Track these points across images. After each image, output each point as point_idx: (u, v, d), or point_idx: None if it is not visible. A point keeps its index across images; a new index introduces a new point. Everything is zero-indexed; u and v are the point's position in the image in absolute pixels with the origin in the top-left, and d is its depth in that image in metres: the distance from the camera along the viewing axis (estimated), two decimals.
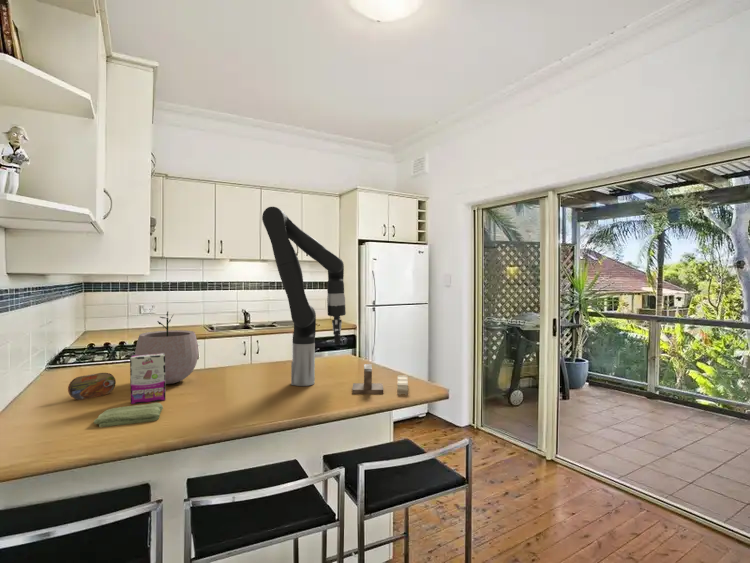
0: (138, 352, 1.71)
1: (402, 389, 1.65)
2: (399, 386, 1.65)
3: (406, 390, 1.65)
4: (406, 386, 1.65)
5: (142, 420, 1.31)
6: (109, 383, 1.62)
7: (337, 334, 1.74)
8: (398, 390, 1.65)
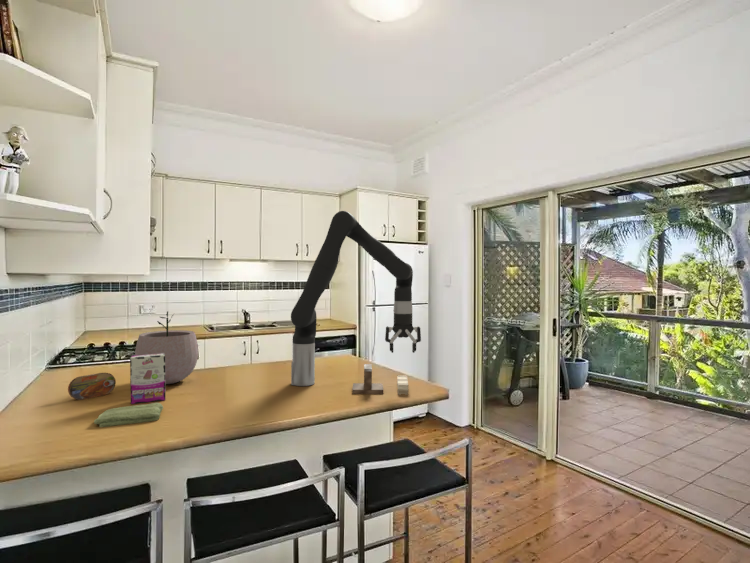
0: (138, 352, 1.71)
1: (402, 389, 1.65)
2: (399, 386, 1.65)
3: (406, 390, 1.65)
4: (406, 386, 1.65)
5: (142, 420, 1.31)
6: (109, 383, 1.62)
7: None
8: (398, 390, 1.65)
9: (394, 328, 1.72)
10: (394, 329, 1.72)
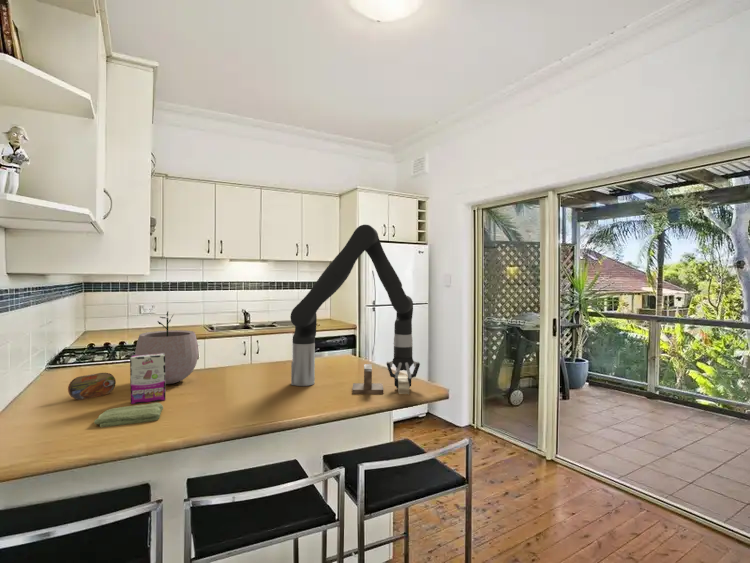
0: (138, 352, 1.71)
1: (403, 388, 1.65)
2: (400, 385, 1.65)
3: (407, 389, 1.65)
4: (407, 385, 1.65)
5: (143, 420, 1.31)
6: (109, 383, 1.62)
7: None
8: (399, 389, 1.65)
9: (394, 361, 1.72)
10: (394, 362, 1.72)
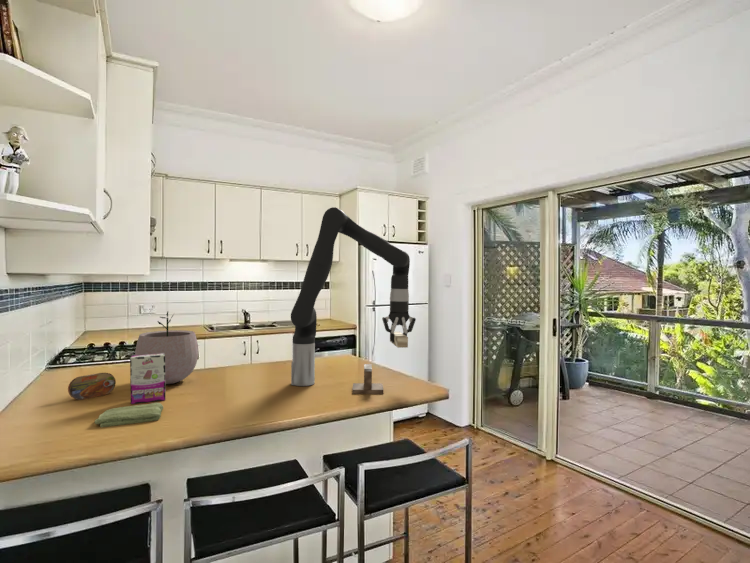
0: (138, 352, 1.71)
1: (402, 341, 1.65)
2: (399, 338, 1.65)
3: (406, 342, 1.65)
4: (406, 338, 1.65)
5: (143, 420, 1.32)
6: (109, 383, 1.62)
7: None
8: (398, 342, 1.65)
9: (390, 316, 1.71)
10: (391, 317, 1.71)
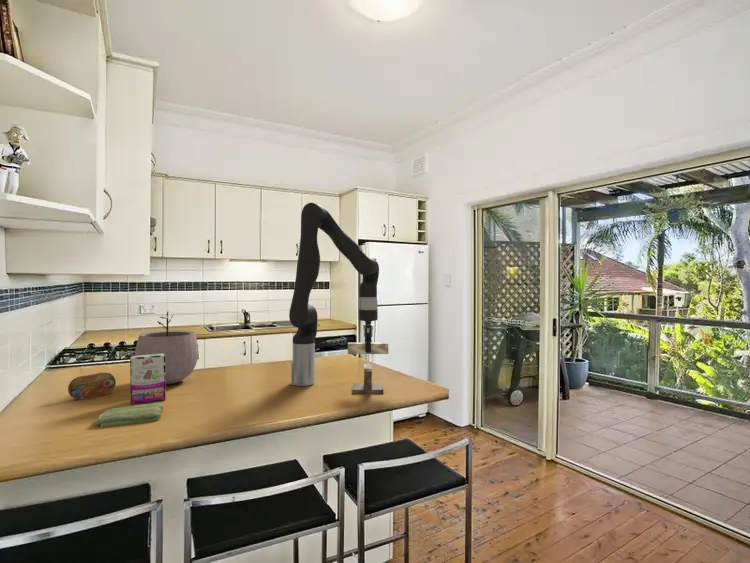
0: (138, 352, 1.71)
1: None
2: None
3: None
4: None
5: (143, 420, 1.32)
6: (109, 383, 1.62)
7: None
8: None
9: (370, 326, 1.67)
10: (370, 326, 1.67)
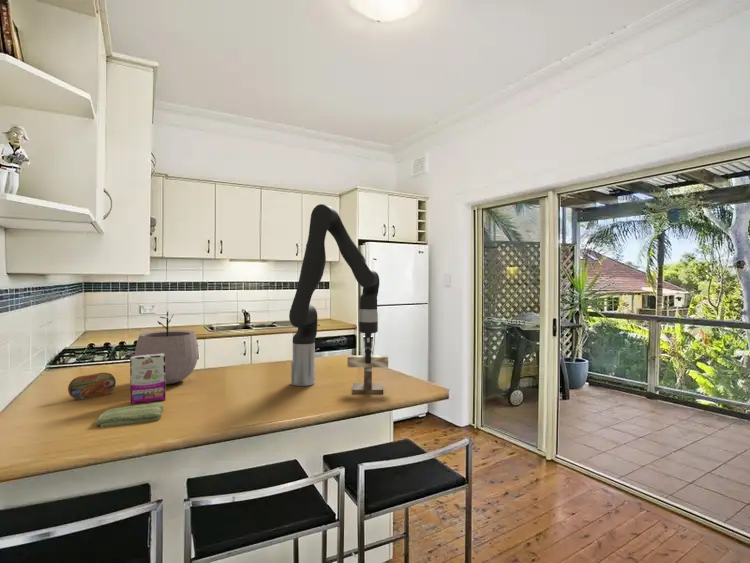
0: (138, 352, 1.71)
1: None
2: None
3: None
4: None
5: (144, 420, 1.32)
6: (109, 383, 1.62)
7: None
8: None
9: (370, 337, 1.67)
10: None
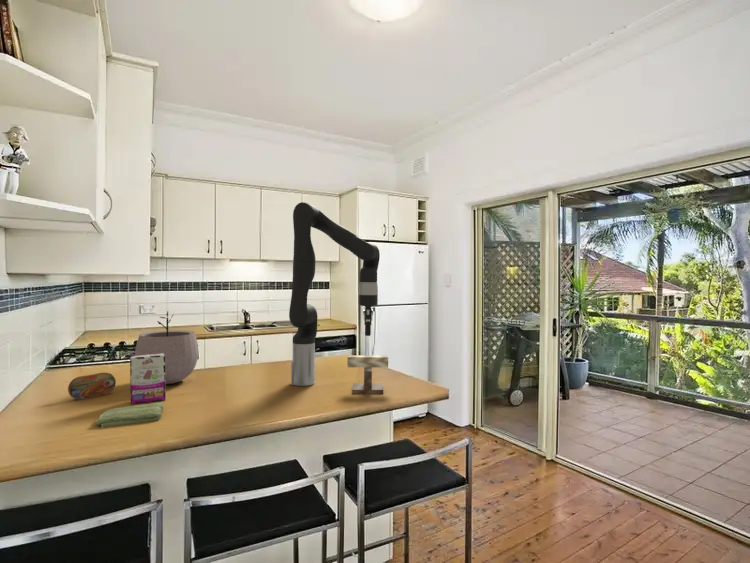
0: (138, 352, 1.71)
1: None
2: None
3: None
4: None
5: (144, 420, 1.32)
6: (109, 383, 1.62)
7: None
8: None
9: None
10: None
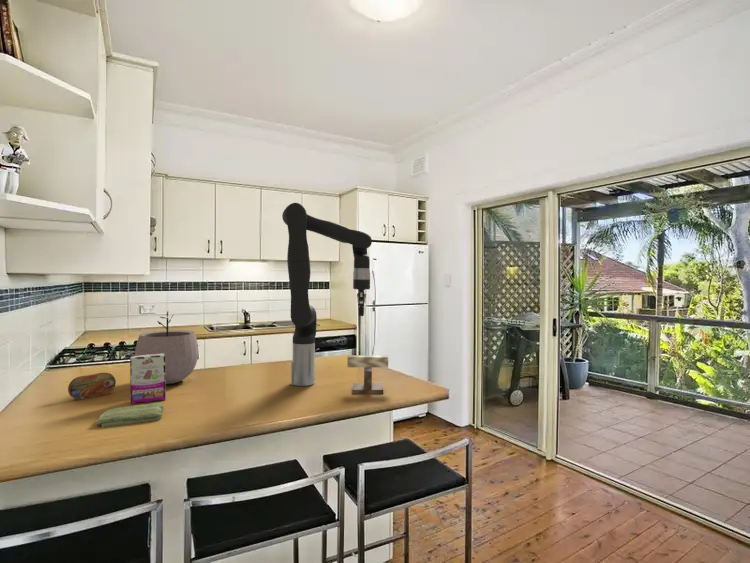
0: (138, 352, 1.71)
1: None
2: None
3: None
4: None
5: (145, 420, 1.32)
6: (109, 383, 1.62)
7: None
8: None
9: None
10: (363, 294, 1.87)
